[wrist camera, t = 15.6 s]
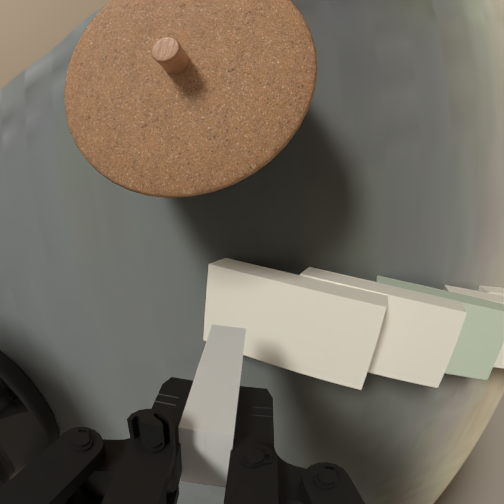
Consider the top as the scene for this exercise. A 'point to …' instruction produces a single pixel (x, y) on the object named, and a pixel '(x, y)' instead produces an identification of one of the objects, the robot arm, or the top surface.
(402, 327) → the tile
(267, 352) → the tile
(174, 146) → the lidded jar
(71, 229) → the top surface
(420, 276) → the top surface
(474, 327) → the tile
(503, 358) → the tile
